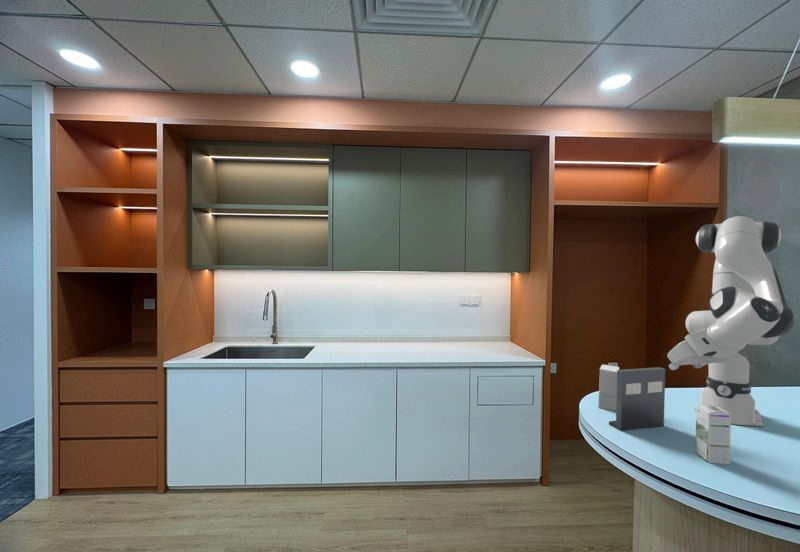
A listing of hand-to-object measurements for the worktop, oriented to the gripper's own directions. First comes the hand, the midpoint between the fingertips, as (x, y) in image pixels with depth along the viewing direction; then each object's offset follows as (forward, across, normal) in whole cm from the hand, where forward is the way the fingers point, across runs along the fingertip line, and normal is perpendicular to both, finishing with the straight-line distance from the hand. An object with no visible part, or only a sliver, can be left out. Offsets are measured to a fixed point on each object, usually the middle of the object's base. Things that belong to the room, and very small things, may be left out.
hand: (683, 367), depth 113 cm
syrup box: (+9, +2, +24) cm, 26 cm away
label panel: (+25, +5, +8) cm, 27 cm away
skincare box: (+37, 0, -4) cm, 37 cm away
